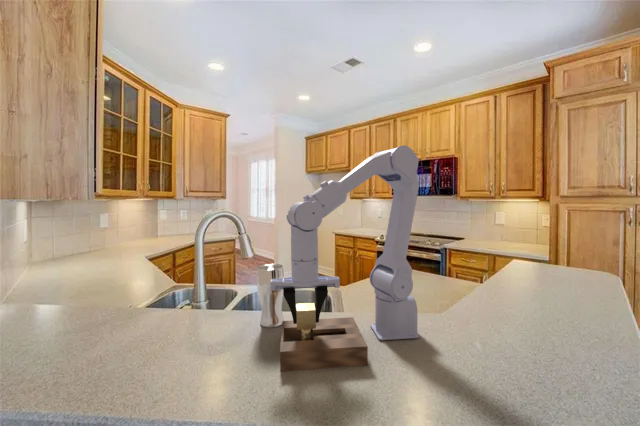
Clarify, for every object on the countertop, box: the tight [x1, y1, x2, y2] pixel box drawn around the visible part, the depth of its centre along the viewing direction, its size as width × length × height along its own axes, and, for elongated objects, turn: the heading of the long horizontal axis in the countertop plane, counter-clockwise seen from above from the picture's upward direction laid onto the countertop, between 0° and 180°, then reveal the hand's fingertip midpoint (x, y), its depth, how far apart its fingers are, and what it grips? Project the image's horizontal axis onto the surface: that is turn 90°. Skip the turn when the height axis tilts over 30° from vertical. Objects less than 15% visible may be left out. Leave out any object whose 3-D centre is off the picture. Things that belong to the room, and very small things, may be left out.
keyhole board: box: [279, 316, 369, 372], centre depth 64 cm, size 17×14×4 cm
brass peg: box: [295, 302, 316, 341], centre depth 65 cm, size 4×4×9 cm
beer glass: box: [256, 263, 285, 329], centre depth 78 cm, size 7×7×15 cm
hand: (306, 321), depth 64 cm, fingers closed on brass peg, 4 cm apart
